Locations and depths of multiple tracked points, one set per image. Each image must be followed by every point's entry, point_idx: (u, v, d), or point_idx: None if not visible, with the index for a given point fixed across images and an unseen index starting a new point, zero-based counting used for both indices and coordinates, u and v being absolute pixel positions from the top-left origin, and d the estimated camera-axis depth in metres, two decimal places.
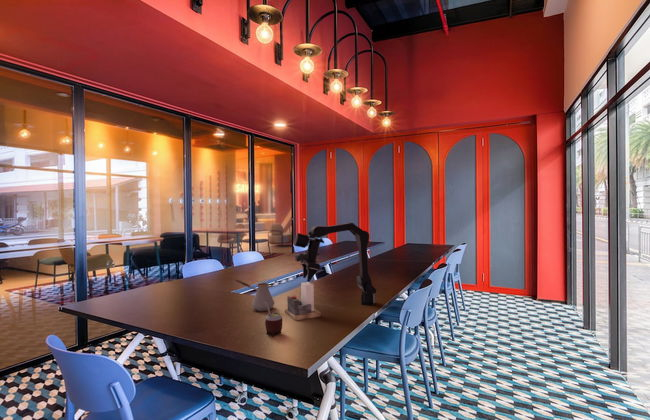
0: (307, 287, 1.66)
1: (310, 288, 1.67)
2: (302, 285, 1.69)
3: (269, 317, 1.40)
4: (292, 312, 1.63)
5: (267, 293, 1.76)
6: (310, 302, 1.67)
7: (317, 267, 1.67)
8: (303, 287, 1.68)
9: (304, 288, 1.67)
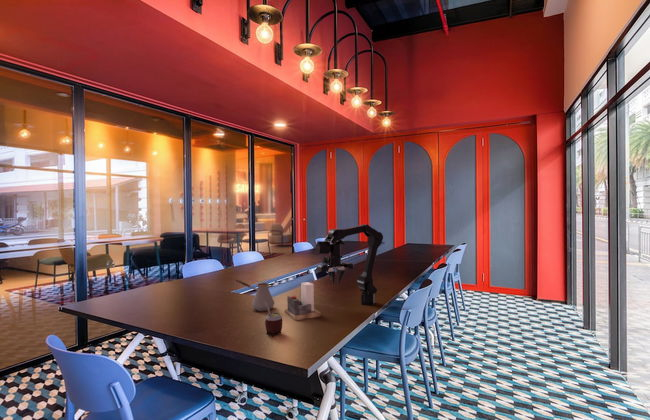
0: (307, 287, 1.66)
1: (310, 288, 1.67)
2: (302, 285, 1.69)
3: (269, 317, 1.40)
4: (292, 312, 1.63)
5: (267, 293, 1.76)
6: (310, 302, 1.67)
7: (320, 269, 1.71)
8: (303, 287, 1.68)
9: (304, 288, 1.67)
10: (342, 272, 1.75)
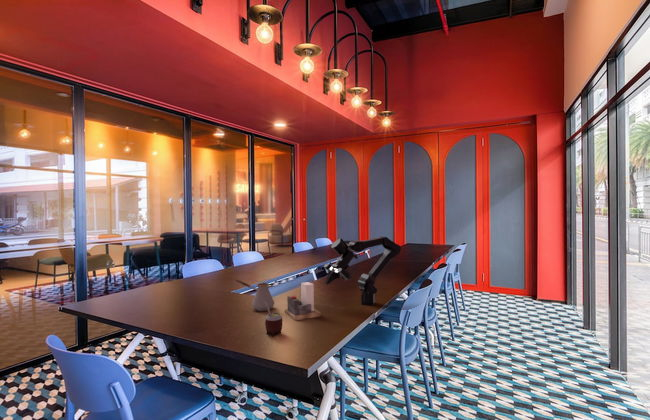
0: (307, 287, 1.66)
1: (310, 288, 1.67)
2: (302, 285, 1.69)
3: (269, 317, 1.40)
4: (292, 312, 1.63)
5: (267, 293, 1.76)
6: (310, 302, 1.67)
7: None
8: (303, 287, 1.68)
9: (304, 288, 1.67)
10: (331, 272, 1.73)
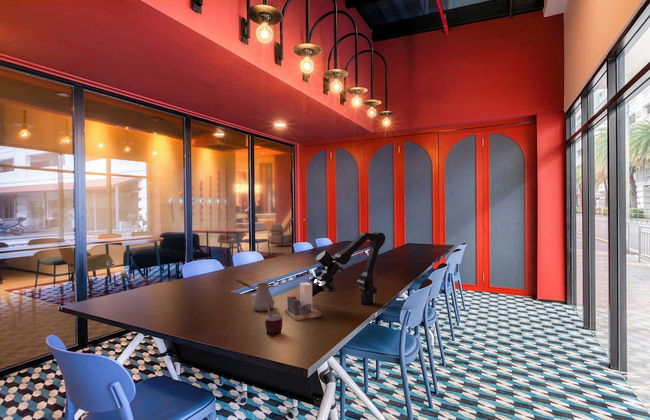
0: (306, 287, 1.66)
1: (309, 288, 1.66)
2: (301, 285, 1.69)
3: (269, 317, 1.40)
4: (292, 312, 1.63)
5: (267, 293, 1.76)
6: (309, 302, 1.66)
7: None
8: (302, 287, 1.68)
9: (303, 288, 1.67)
10: (315, 285, 1.70)
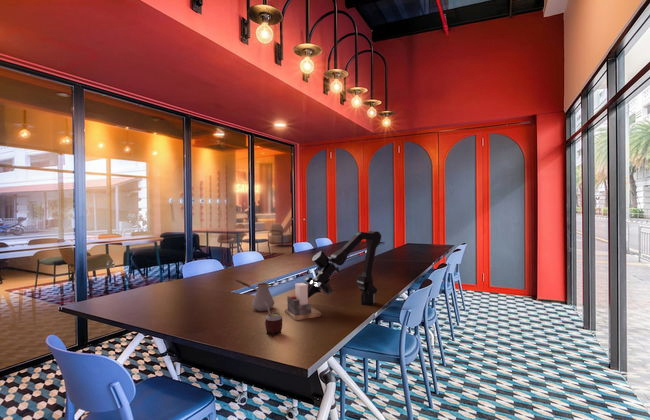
0: (301, 288, 1.64)
1: (304, 289, 1.65)
2: (296, 286, 1.68)
3: (269, 317, 1.40)
4: (292, 312, 1.63)
5: (267, 293, 1.76)
6: (304, 303, 1.65)
7: None
8: (297, 288, 1.67)
9: (298, 289, 1.66)
10: (311, 286, 1.68)
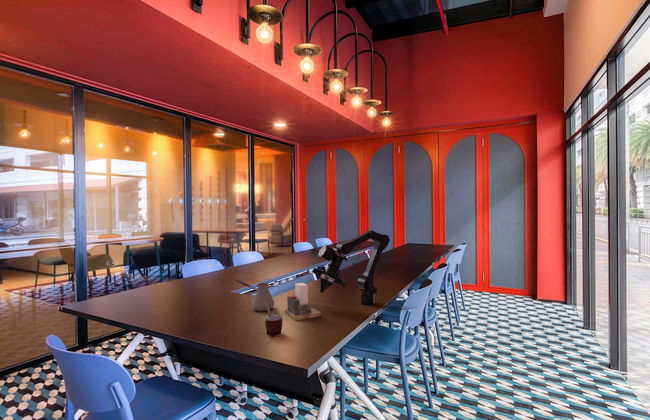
0: (301, 288, 1.64)
1: (304, 289, 1.65)
2: (296, 286, 1.68)
3: (269, 317, 1.40)
4: (292, 312, 1.63)
5: (267, 293, 1.76)
6: (304, 303, 1.65)
7: None
8: (297, 288, 1.67)
9: (298, 289, 1.66)
10: (326, 282, 1.71)
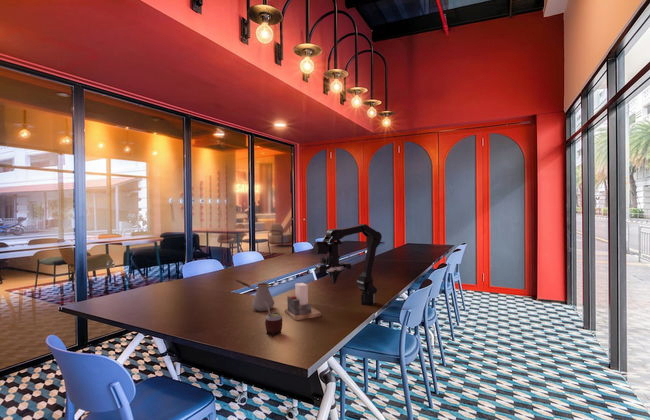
0: (301, 288, 1.64)
1: (304, 289, 1.65)
2: (296, 286, 1.68)
3: (269, 317, 1.40)
4: (292, 312, 1.63)
5: (267, 293, 1.76)
6: (304, 303, 1.65)
7: (318, 270, 1.70)
8: (297, 288, 1.67)
9: (298, 289, 1.66)
10: (338, 273, 1.74)
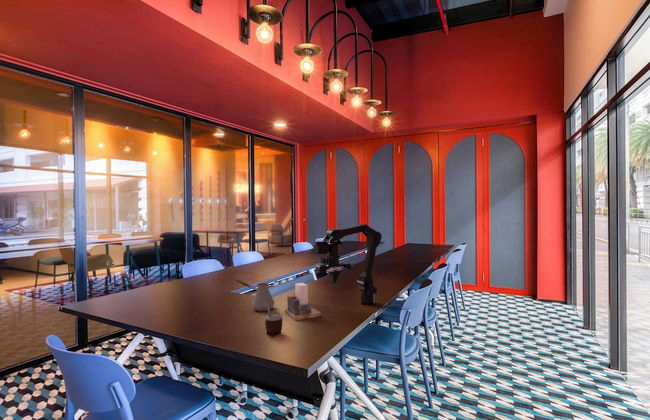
0: (301, 288, 1.64)
1: (304, 289, 1.65)
2: (296, 286, 1.68)
3: (269, 317, 1.40)
4: (292, 312, 1.63)
5: (267, 293, 1.76)
6: (304, 303, 1.65)
7: (318, 270, 1.70)
8: (297, 288, 1.67)
9: (298, 289, 1.66)
10: (338, 273, 1.74)
